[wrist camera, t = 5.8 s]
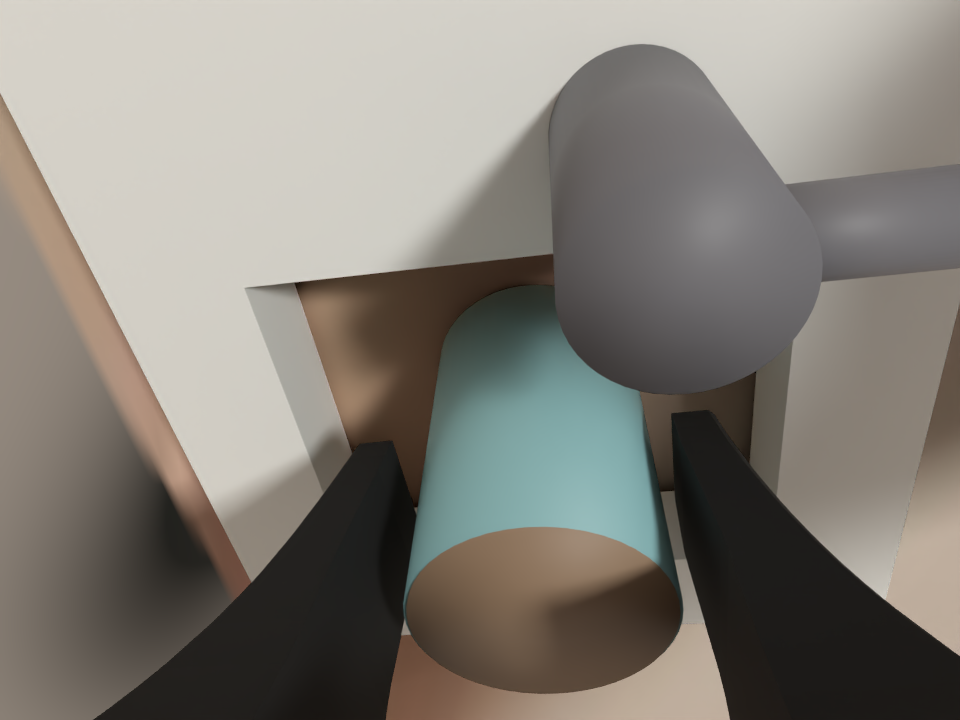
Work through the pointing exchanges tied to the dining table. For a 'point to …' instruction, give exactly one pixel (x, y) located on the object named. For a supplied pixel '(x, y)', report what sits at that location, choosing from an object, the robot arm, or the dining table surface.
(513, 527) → the cylinder
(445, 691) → the dining table surface
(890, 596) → the dining table surface
